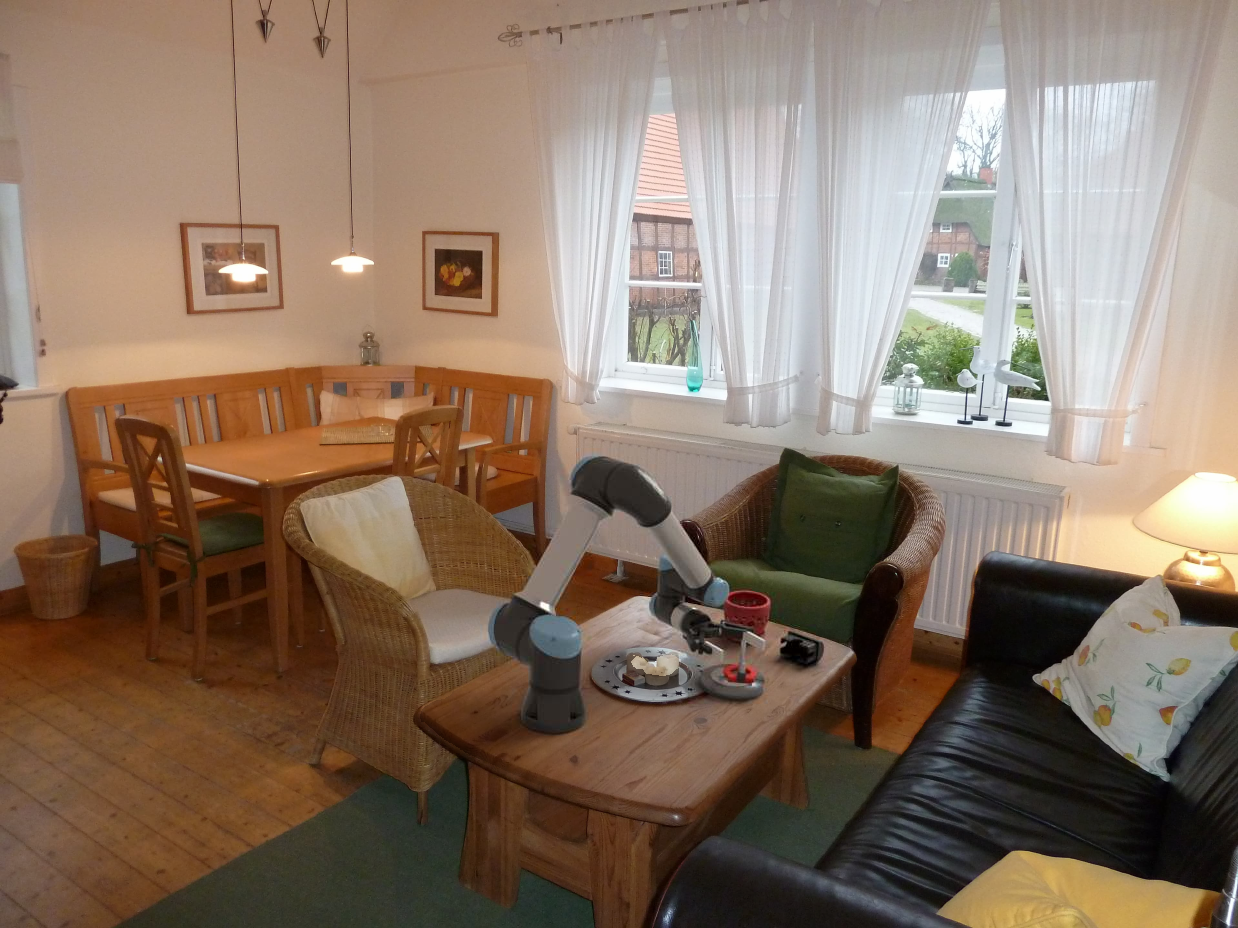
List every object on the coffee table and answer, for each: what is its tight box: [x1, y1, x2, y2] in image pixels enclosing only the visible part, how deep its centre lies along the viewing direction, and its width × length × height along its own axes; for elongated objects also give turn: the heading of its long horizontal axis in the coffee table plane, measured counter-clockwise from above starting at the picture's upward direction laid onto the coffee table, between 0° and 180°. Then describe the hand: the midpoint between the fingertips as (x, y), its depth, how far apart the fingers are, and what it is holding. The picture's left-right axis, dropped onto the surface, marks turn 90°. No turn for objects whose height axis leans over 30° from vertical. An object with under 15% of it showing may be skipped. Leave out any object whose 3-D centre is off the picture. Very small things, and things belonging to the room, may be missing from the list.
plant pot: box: [723, 590, 771, 644], centre depth 276 cm, size 13×13×12 cm
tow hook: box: [723, 632, 757, 683], centre depth 244 cm, size 8×13×9 cm
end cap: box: [779, 630, 825, 669], centre depth 263 cm, size 10×7×7 cm
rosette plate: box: [700, 663, 766, 702], centre depth 245 cm, size 16×16×3 cm
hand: (743, 650), depth 240 cm, fingers open, 13 cm apart
